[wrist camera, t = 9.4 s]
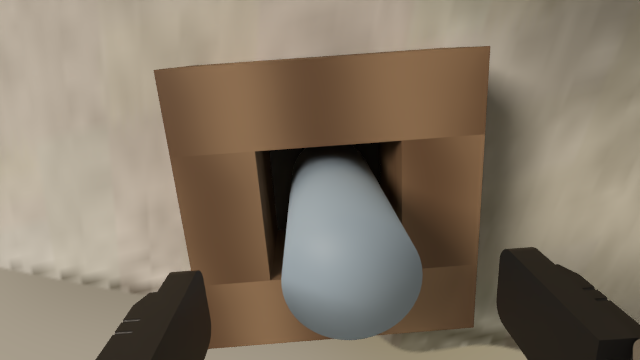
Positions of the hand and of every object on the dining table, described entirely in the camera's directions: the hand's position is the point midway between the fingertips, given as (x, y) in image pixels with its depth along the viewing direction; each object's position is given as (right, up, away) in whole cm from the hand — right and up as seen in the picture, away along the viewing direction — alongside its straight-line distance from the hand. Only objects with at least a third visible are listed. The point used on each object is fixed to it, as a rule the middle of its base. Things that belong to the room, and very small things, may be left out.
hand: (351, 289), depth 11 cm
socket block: (-1, +3, +10) cm, 11 cm away
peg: (0, +3, +10) cm, 11 cm away
